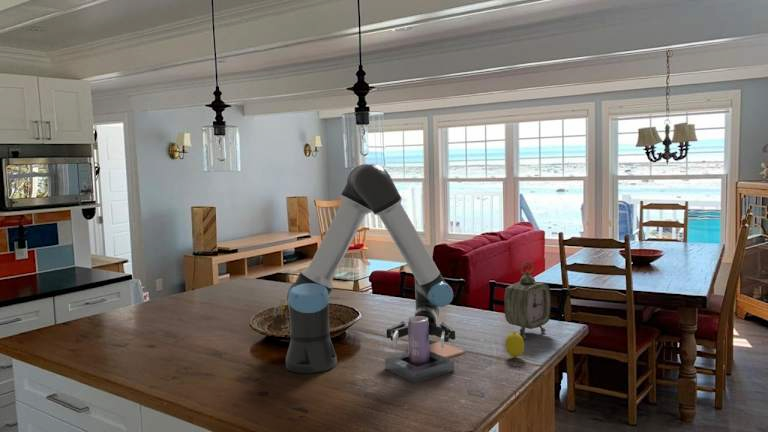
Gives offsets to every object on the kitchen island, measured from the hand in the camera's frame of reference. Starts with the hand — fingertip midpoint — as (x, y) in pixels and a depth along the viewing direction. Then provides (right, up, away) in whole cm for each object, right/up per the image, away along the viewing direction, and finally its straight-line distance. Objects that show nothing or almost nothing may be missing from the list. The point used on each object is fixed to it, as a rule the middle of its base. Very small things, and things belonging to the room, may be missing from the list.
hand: (418, 342), depth 155 cm
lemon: (+30, -7, +11) cm, 33 cm away
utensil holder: (-46, -7, +41) cm, 62 cm away
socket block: (+1, -9, +4) cm, 9 cm away
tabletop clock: (+39, -5, +34) cm, 52 cm away
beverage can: (+1, -9, +4) cm, 10 cm away
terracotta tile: (+7, -7, +18) cm, 21 cm away
